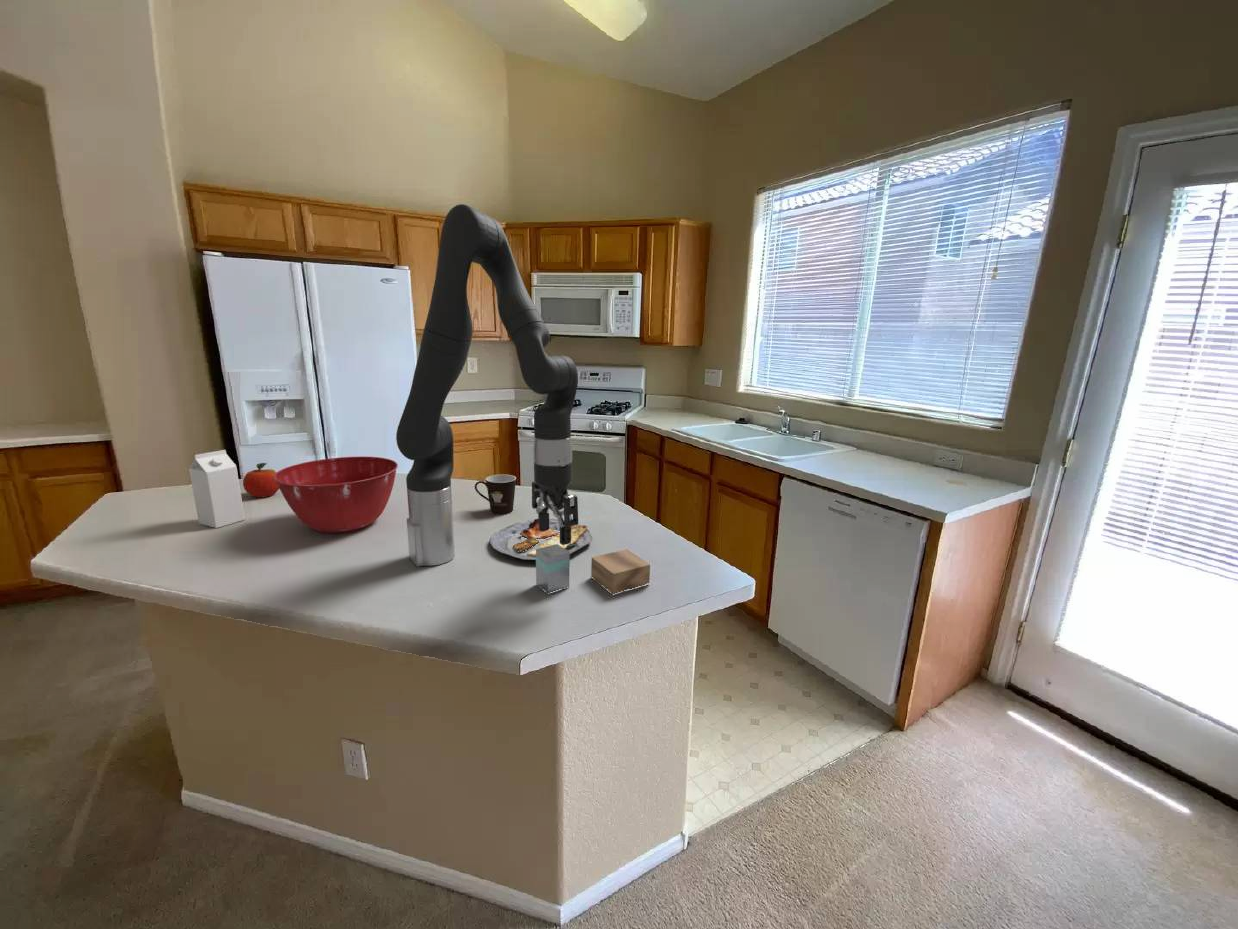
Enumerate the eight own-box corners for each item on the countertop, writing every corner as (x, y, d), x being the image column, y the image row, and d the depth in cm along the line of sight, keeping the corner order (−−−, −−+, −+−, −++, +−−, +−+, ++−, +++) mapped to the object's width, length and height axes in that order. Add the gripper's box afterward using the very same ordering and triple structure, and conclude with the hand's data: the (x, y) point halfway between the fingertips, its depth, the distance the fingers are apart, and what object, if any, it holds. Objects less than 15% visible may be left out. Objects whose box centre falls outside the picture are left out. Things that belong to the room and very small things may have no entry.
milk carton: (198, 524, 131) (185, 453, 127) (228, 516, 138) (216, 448, 133) (216, 528, 129) (203, 456, 124) (245, 520, 135) (234, 451, 131)
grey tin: (547, 594, 101) (547, 558, 99) (536, 584, 105) (535, 549, 103) (569, 588, 104) (569, 552, 102) (557, 578, 108) (557, 543, 106)
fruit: (238, 501, 150) (233, 468, 147) (253, 491, 159) (249, 460, 156) (274, 500, 152) (269, 467, 149) (287, 490, 161) (283, 460, 158)
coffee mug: (522, 510, 150) (522, 477, 147) (501, 518, 143) (500, 484, 140) (495, 502, 156) (494, 471, 153) (473, 509, 149) (472, 477, 146)
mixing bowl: (292, 555, 115) (283, 490, 112) (272, 520, 136) (264, 464, 132) (417, 528, 134) (413, 472, 130) (383, 500, 154) (378, 451, 150)
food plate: (538, 519, 142) (538, 507, 141) (608, 538, 131) (608, 526, 130) (471, 551, 122) (471, 538, 121) (547, 577, 110) (547, 563, 109)
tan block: (612, 596, 102) (613, 574, 101) (591, 578, 109) (591, 557, 108) (649, 586, 106) (650, 564, 105) (625, 569, 114) (626, 549, 113)
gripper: (519, 455, 102) (521, 530, 106) (554, 469, 91) (556, 553, 95) (551, 450, 106) (552, 523, 110) (589, 464, 95) (589, 544, 99)
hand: (554, 537), depth 102 cm, fingers open, 8 cm apart
